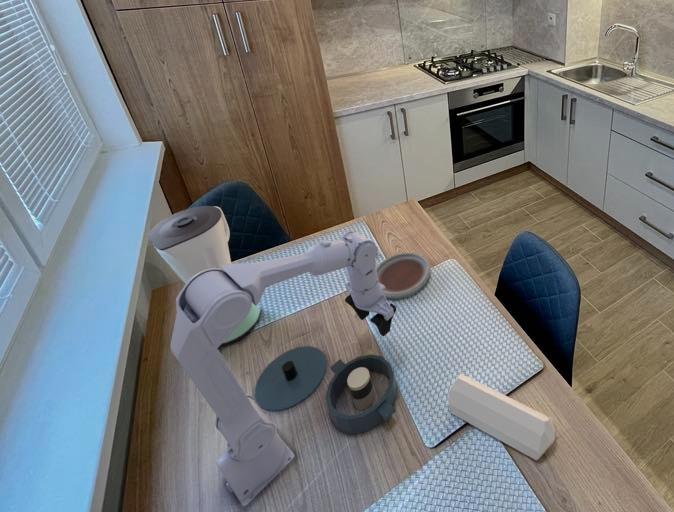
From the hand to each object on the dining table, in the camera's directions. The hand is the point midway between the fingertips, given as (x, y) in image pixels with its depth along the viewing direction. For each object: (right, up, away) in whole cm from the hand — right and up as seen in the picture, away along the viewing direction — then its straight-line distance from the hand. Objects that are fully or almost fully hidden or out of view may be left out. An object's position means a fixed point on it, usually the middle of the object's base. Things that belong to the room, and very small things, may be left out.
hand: (375, 324), depth 94 cm
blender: (-41, -6, +13) cm, 44 cm away
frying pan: (-6, +2, +28) cm, 29 cm away
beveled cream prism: (+30, -15, -10) cm, 35 cm away
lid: (-19, -12, -1) cm, 22 cm away
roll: (0, -13, -6) cm, 15 cm away
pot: (0, -14, -6) cm, 15 cm away
